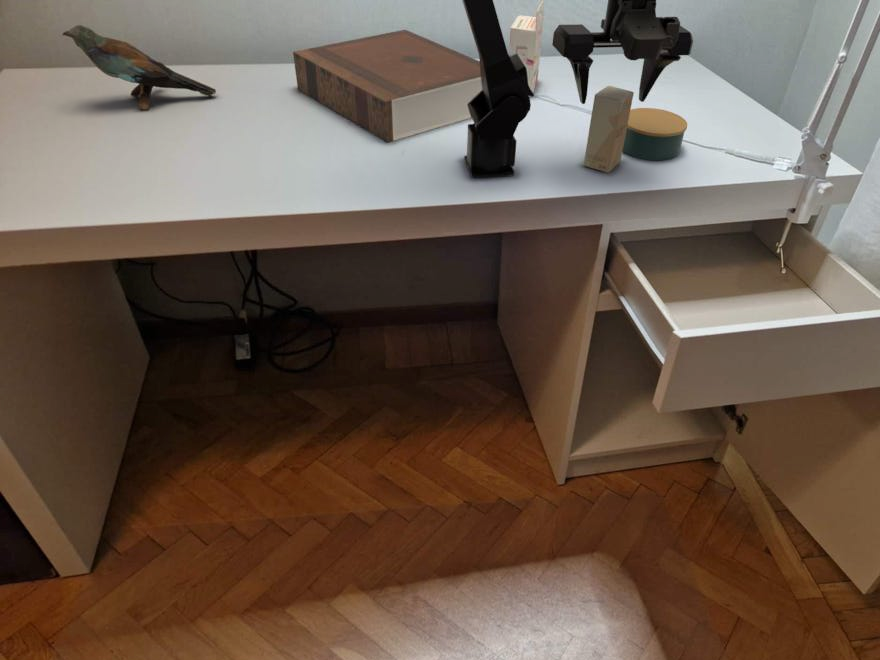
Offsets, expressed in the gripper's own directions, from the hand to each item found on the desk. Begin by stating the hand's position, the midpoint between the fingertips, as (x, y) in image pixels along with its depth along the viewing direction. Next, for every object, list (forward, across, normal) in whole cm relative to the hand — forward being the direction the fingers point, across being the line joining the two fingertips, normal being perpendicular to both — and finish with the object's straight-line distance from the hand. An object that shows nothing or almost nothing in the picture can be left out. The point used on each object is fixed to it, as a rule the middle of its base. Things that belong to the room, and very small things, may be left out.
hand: (612, 101), depth 101 cm
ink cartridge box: (+10, -4, +33) cm, 35 cm away
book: (+10, -28, +30) cm, 42 cm away
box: (+10, 0, 0) cm, 10 cm away
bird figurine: (+10, -70, +34) cm, 78 cm away
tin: (+10, +10, +5) cm, 15 cm away
